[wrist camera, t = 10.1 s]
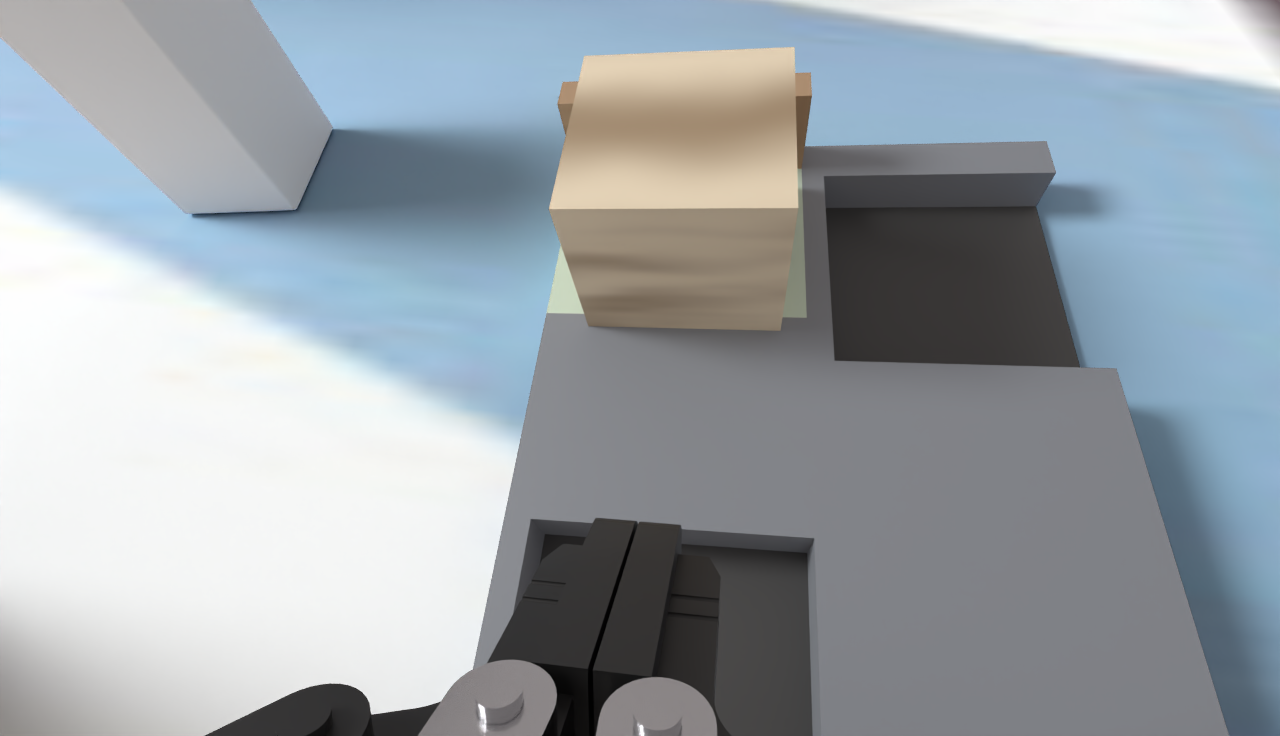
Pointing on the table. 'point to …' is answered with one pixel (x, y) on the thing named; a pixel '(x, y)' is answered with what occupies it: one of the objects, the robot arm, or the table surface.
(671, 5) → the table surface
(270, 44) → the milk carton
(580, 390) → the trap deck
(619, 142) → the beech block
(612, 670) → the robot arm
